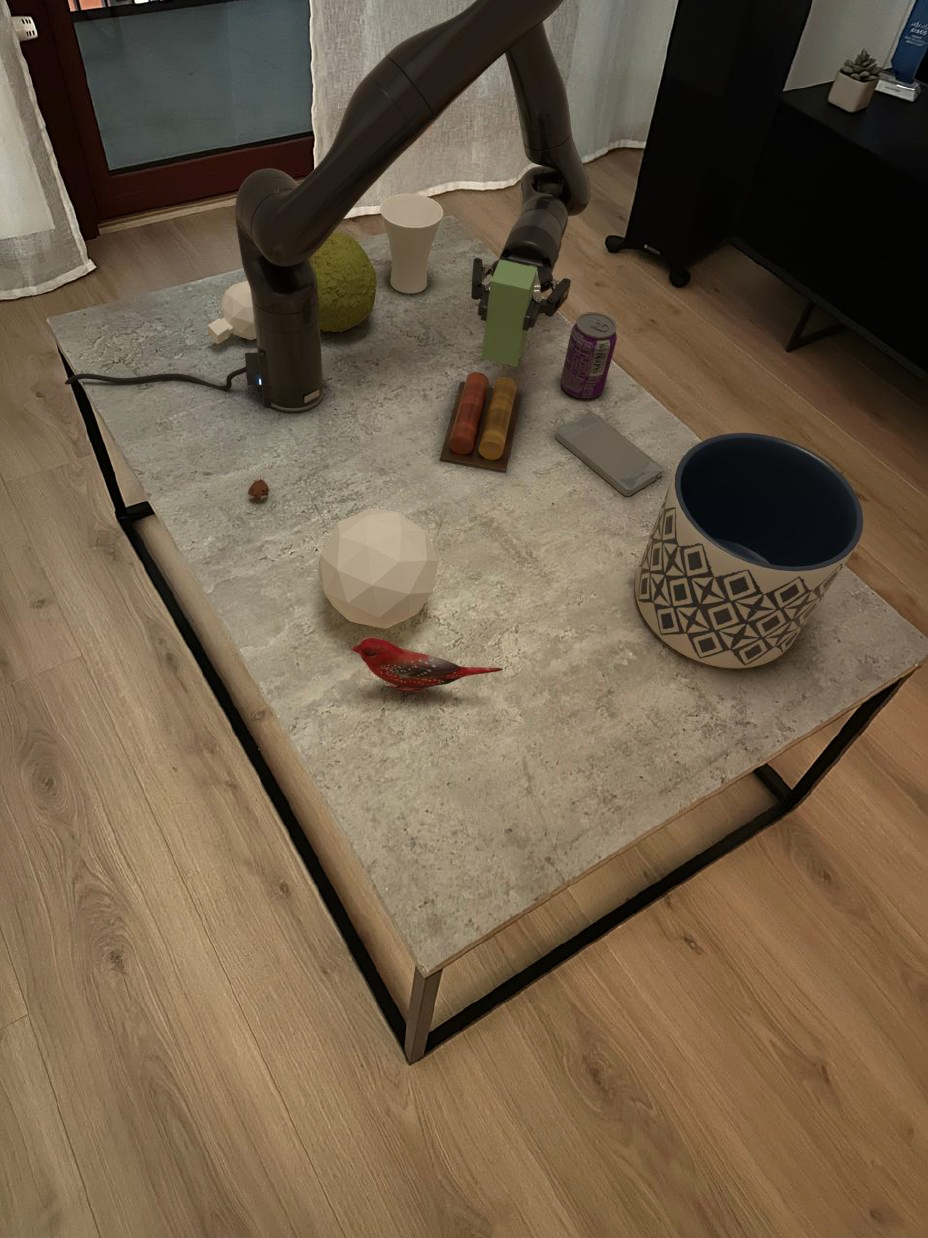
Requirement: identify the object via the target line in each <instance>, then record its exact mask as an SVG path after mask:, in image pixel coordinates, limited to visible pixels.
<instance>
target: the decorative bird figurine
mask: <svg viewBox="0 0 928 1238" xmlns="http://www.w3.org/2000/svg"><path fill="white" fill-rule="evenodd" d="M350 651H352V652H355V653H357V654H359V656H360V658H361V660H362V661H363V662H364V663H365V664H366V666H367V667H368V669H369V671H371V673H373V674H374V675H375V676H376V677H378V678H379V679H381V680H382V681H384V682H387V683H389V684H392V685H395V686H392V685H386V686H385V688H388V689H389V688H390V689H395V690H398V691H399V692H415V691H416V692H421V691H427V692H429V689H427V688H432V687H437V686H445V685H449V684H452V683H454V682H455V681H458V680H460V679H462V678H465V677H470V676H475V675H484V674H490V673H497V672H500V671H501V672H502V670H504V669H503V668H501V667H495V666H494V667H492V666H491V667H489V666H488V667H487V666H486V667H483V666H478V667H477V666H461V665H458V664H456V663H454V662H451V661H448V660H446V659H444V658H440V657H436V656H433V655H431V654H426V653H422V652H418V651H414V650H409V649H406V648H403V647H400V646H398V645H396V644H394V643H392V642H390V641H388V640H386V639H381V638H378V637H367V638H365V639H363V640H361V641H360V642H359V644H357V645H356V646H354V647H352V648H351V649H350Z"/></svg>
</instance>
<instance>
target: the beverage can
mask: <svg viewBox="0 0 928 1238" xmlns="http://www.w3.org/2000/svg"><path fill="white" fill-rule="evenodd" d="M617 327H618V326H617V324H616V321H615V320H614V319H613V318H612V317H610V316H609V315H607V314H605V313H602V312H598V311H597V312H596V311H587V312H583V313H582V314H580V315H579V316H577V318H576V322H575V324H573V325H572V328H571V330H570V335H569V339H568V343H567V349H566V353H565V358H564V363H563V367H562V368H563V369H562V373H561V377H560V385H561V387H562V388H563V390H564V391H565V392H567V394H569V395H571V396H573V397H576V398H579V399H580V398H581V399H592V398H595V397H598V396H599V395H601V394H602V393H603V392H604V390H605V386H606V383H607V382H606V381H607V379H608V374H609V371H610V367H611V363H612V359H613V357H614V356H613V355H614V353H615V348H616V344H617V339H618V334H617Z"/></svg>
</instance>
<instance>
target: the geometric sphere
mask: <svg viewBox="0 0 928 1238" xmlns="http://www.w3.org/2000/svg"><path fill="white" fill-rule="evenodd" d="M318 558H319V560H318V572H317V573H318V574H317V576H318V579H319V582H320V585H321V587H322V591H323V593H324V595H325V597H327V599H328V600H329V602H330V604H331V605H332V607H334V608H335V609H336V610H337V611H338V612H339V613H340V614H341V615H342V616H343V617H344V618H345V619H346V620H347V621H349V622H350V623H355V624H359V625H364V626H369V627H373V628H374V627H375V628H378V629H383V630H387V629H389V628H391V627H393V626H395V625H397V624H399V623H401V622H403V621H405V620H408V619H410V618H413V617H414V616H416V615H418V614H419V612H420V611H421V609H422V608H423V607H424V605H425V604H426V602H427V601H428V599H429V598H430V597H431V596H432V594H433V592H434V587H435V581H436V578H437V577H436V576H437V572H438V566H439V559H438V556H437V554H436V552H435V550H434V547H433V545H432V543H431V541H430V539H429V536H428V534H427V532H426V530H425V529H423V528H422V527H420V526H419V525H417V524H416V523H414V522H413V521H411V519H409V518H407V517H406V516H404V515H403V514H401V513H400V512H398V511H393V510H387V509H380V508H373V507H371V508H368V509H366V510H364V511H363V510H362V511H361V512H359V513H356V514H353V515H351V516H349V517H346V518H344V519H342V520H339V521H337V523H336V525H335V526H334V528H333V530H332V532H331V534H330V536H329V537H328V539H327V541H326V543H325V544H324V545H323V547H322V550H321V552H320V553H319V557H318Z"/></svg>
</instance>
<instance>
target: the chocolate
mask: <svg viewBox="0 0 928 1238" xmlns="http://www.w3.org/2000/svg"><path fill="white" fill-rule="evenodd" d="M263 477H264V474H263V473H261V475H258V476H255V477H252V478H251V479H250V481H252V482H253V483H252V484H251V485H250V486H249V488H248V491H247V495H248V497H249V498H251V499H253V500H255V501H262V500H265V499H266V498H267V497H268V496H269V493H271V492H272V491H271V488H269V486H268V484H267V483H266V481H265V480H264V479H262V478H263Z"/></svg>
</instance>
